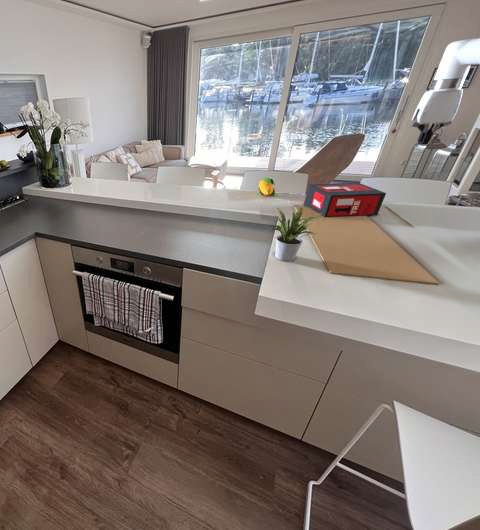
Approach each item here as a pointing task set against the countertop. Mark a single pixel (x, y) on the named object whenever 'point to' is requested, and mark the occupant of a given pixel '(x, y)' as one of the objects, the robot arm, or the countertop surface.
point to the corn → (267, 187)
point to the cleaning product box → (344, 199)
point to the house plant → (291, 235)
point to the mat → (361, 249)
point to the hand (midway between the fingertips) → (422, 143)
